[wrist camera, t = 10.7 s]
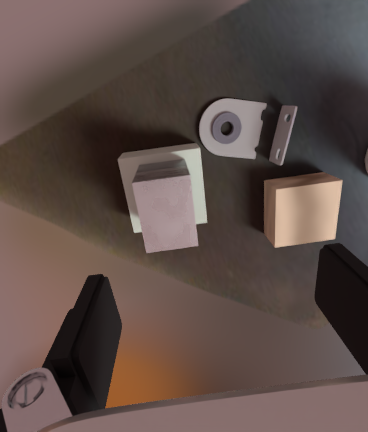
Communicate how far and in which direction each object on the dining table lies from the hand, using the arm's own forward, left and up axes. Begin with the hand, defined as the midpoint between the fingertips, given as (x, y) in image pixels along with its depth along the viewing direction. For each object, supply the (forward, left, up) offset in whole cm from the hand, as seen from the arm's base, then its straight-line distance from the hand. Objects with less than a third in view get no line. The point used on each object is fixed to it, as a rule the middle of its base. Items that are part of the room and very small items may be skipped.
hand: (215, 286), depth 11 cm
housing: (+2, +2, -19) cm, 20 cm away
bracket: (-8, -3, -24) cm, 26 cm away
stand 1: (+2, +2, -23) cm, 24 cm away
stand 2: (-15, +7, -23) cm, 28 cm away
